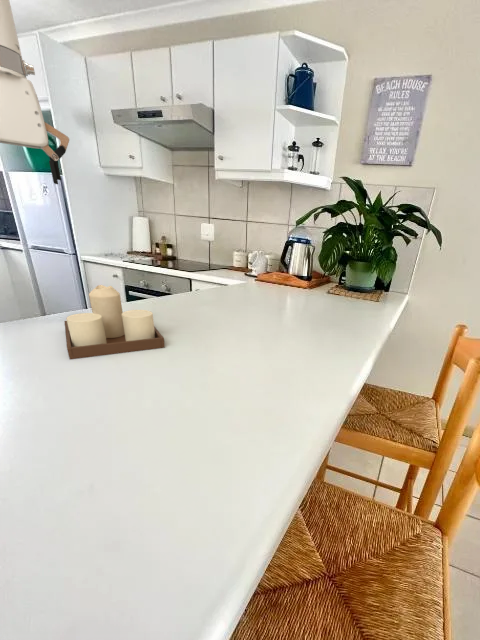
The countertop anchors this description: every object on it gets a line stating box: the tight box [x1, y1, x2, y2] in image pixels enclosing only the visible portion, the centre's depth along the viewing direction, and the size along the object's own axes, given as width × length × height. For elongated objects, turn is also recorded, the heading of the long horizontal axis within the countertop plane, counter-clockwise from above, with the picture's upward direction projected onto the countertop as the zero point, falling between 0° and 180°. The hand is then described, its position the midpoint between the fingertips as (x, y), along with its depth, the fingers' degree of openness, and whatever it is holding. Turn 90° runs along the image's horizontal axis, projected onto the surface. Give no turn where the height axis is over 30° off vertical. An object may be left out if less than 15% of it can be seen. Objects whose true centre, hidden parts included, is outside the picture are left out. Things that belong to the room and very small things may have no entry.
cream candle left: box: [65, 312, 107, 347], centre depth 60 cm, size 6×6×6 cm
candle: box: [88, 284, 125, 338], centre depth 67 cm, size 6×6×10 cm
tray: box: [63, 320, 166, 360], centre depth 67 cm, size 16×17×3 cm
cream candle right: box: [122, 309, 155, 341], centre depth 65 cm, size 6×6×6 cm
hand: (26, 180), depth 64 cm, fingers open, 9 cm apart
